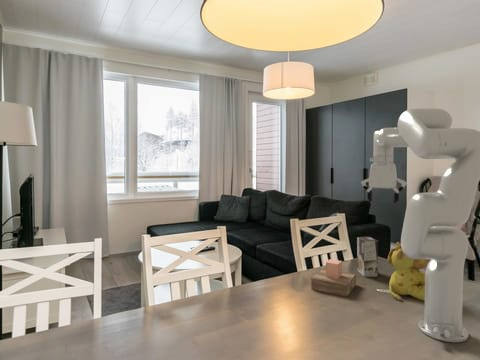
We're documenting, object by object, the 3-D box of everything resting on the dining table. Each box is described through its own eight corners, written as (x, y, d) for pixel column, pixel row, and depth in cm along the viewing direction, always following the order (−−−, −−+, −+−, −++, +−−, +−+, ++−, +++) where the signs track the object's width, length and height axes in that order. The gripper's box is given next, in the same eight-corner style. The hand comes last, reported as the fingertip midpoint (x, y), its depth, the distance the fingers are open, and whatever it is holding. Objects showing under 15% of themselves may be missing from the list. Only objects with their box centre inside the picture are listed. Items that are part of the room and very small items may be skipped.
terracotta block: (338, 279, 129) (338, 264, 128) (325, 276, 131) (325, 262, 131) (341, 275, 133) (341, 261, 132) (329, 273, 136) (329, 259, 135)
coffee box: (378, 276, 143) (378, 240, 143) (363, 277, 143) (364, 241, 143) (370, 270, 152) (370, 236, 152) (356, 270, 153) (356, 236, 152)
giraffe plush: (455, 303, 115) (456, 250, 114) (388, 303, 117) (388, 250, 116) (425, 283, 136) (426, 237, 135) (368, 282, 137) (368, 237, 136)
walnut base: (346, 296, 123) (346, 284, 122) (311, 289, 130) (311, 278, 130) (355, 284, 134) (355, 274, 134) (322, 278, 142) (322, 268, 142)
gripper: (359, 160, 134) (359, 201, 135) (405, 160, 125) (405, 204, 126) (363, 160, 141) (363, 200, 141) (407, 160, 131) (407, 202, 132)
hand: (382, 202), depth 134 cm, fingers open, 9 cm apart
